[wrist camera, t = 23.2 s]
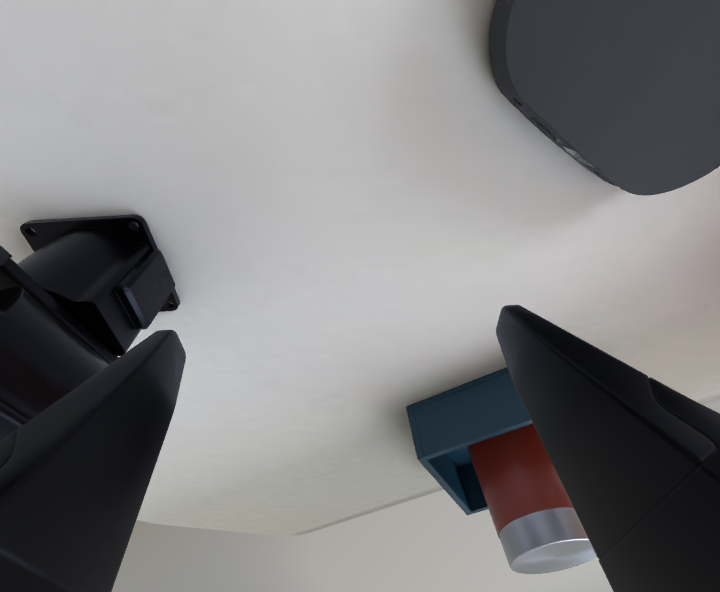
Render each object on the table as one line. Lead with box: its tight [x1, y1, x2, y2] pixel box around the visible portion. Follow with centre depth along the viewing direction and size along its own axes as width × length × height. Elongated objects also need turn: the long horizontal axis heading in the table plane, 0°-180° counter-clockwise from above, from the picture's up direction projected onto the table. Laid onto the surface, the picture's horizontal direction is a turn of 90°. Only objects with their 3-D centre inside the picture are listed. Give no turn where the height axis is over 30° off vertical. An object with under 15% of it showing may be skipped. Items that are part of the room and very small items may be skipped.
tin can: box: [467, 423, 596, 574], centre depth 29 cm, size 7×7×11 cm
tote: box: [406, 368, 532, 515], centre depth 32 cm, size 13×13×5 cm
